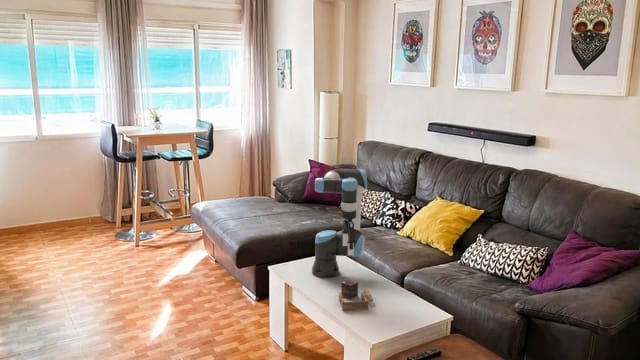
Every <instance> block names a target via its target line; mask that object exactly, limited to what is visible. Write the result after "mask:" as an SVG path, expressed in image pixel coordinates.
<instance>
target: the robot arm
mask: <svg viewBox="0 0 640 360" xmlns="http://www.w3.org/2000/svg"><path fill="white" fill-rule="evenodd" d="M367 175H368V174H367V171H366V169H360V168H355V169H354V168H335V169H331V170H329V171H327V172H326V173H325V174H324V176H323V177H317V178H315V180H314V191H315V193H322V194H324V193H325V194H326V193H327V194H328V193H329V194H341V203H340V206H341V212H340V215H341V219H343V220H342V221H343V223H342V228H341V229H342V230H341V233H340V234H338V232H337V231H336V230H332V229H331V230H322V231H320V232H318V233H317V234H315V239H314V240H315V241H314V243H315V245H314V246H315V249H314V250H315V251H314V252H315V253H314V254H315V255H314V256H315V257H314V261H313V264H312V267H311V274H312V275H313V276H316V277H319V278H333V277H336V276H338V275H339V274H340V268H339V264H338V261H337V257H338V256H339V257H352V258H355V257H361V256H362V255H363V251H364V247H365V238H366V237H365V235H363V232H362V230H361V219H362V218H361V217H362V216H361V215H362V201H363V200H362V198H363V197H362V196H363V194H364V193H365V192H366V190H367V189H368V177H367Z"/></svg>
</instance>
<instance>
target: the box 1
mask: <svg viewBox="0 0 640 360" xmlns="http://www.w3.org/2000/svg"><path fill="white" fill-rule="evenodd" d="M340 284H341V286H340V287H341V290H340V291H341V292H340V293H342V296H343V298H346V299H348V300H352V299H354V298H357V297H359V296H358V295H359V282H358V281H355V280H352V279H350V278H348V279H347V280H344V281H341V283H340Z"/></svg>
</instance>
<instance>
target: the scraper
mask: <svg viewBox="0 0 640 360" xmlns="http://www.w3.org/2000/svg"><path fill="white" fill-rule="evenodd" d="M363 292H364V294H365V296H366V298H367V300H368V306H369V307H370V308H374V307H375V308H376V304H375V301H374V299H373V297H372V295H371V293H370V291H369V288H367V287H365V288H364V289H363Z"/></svg>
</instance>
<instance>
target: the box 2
mask: <svg viewBox="0 0 640 360" xmlns="http://www.w3.org/2000/svg"><path fill="white" fill-rule="evenodd" d="M338 301H339V305H340V307H341V310H342V311H343V312H344V311H345V312H346V311H368V310H369V303H368V299H367V296H366V294H365V292H364V291H361V295H360V300H359V301H358V300H357V301H355V300H354V301H345V299H344V297H343V296H342V293H341V292H338Z"/></svg>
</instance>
